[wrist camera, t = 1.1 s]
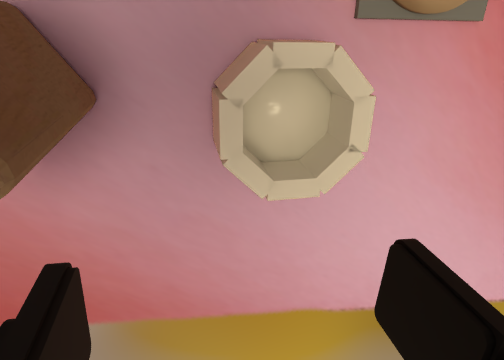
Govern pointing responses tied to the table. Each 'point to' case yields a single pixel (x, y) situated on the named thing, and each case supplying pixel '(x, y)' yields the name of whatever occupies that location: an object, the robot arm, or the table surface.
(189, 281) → the table surface
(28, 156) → the wooden block
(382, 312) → the robot arm
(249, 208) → the table surface
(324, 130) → the bowl
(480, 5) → the mat
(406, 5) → the lid
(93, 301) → the table surface
